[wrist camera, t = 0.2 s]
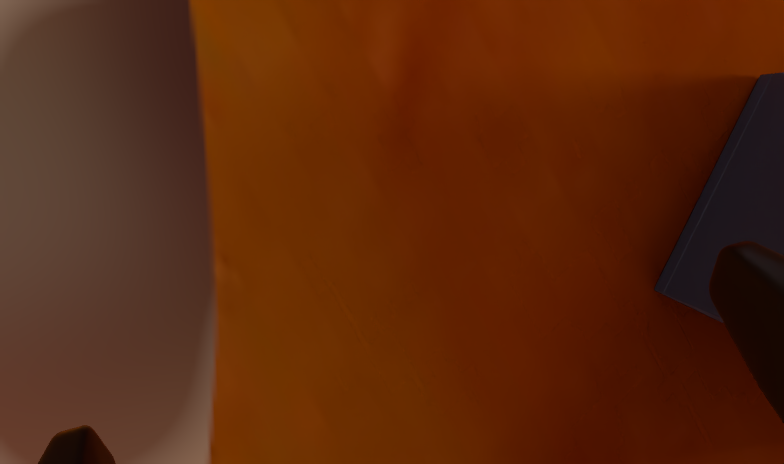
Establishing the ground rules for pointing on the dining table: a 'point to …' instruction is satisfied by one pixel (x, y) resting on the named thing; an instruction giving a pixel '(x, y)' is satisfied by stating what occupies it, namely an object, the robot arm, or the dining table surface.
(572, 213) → the dining table surface
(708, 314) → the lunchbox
